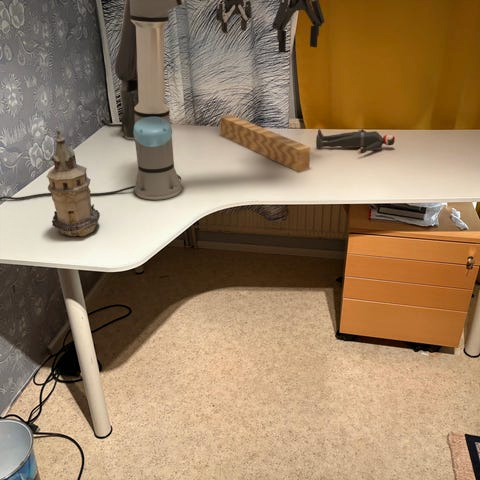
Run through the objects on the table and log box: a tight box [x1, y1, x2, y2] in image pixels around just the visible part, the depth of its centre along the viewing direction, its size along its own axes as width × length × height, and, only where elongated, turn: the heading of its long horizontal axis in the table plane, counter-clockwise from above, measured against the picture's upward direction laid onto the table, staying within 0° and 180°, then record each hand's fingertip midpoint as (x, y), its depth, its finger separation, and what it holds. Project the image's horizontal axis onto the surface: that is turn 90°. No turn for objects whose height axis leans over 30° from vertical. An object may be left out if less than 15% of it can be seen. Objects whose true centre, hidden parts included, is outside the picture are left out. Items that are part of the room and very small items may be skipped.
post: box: [219, 114, 311, 173], centre depth 209 cm, size 51×5×8 cm, turn 35°
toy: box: [315, 128, 396, 155], centre depth 211 cm, size 26×6×30 cm
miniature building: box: [46, 129, 101, 237], centre depth 148 cm, size 13×14×30 cm
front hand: (297, 49), depth 177 cm, fingers open, 13 cm apart
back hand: (234, 31), depth 203 cm, fingers open, 8 cm apart
